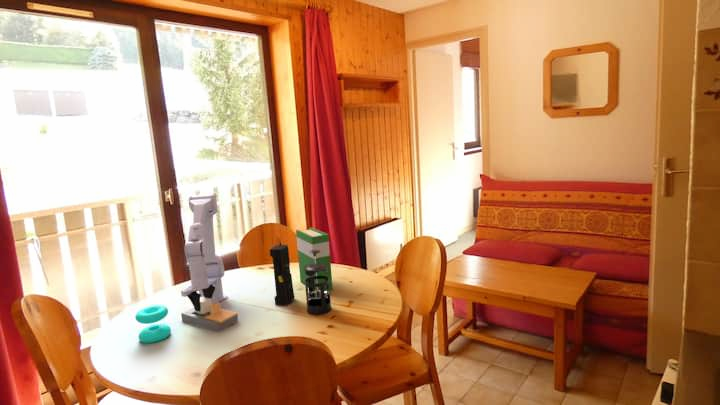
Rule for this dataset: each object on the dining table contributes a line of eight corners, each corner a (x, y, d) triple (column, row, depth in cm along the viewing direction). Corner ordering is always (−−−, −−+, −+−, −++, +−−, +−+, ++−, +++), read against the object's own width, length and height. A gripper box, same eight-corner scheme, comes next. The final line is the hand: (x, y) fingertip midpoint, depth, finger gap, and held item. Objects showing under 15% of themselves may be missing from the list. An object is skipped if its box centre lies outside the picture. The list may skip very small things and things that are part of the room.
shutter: (205, 318, 151) (204, 307, 151) (222, 310, 158) (221, 300, 157) (220, 322, 147) (219, 311, 146) (237, 314, 153) (236, 303, 153)
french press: (337, 311, 158) (332, 251, 154) (314, 318, 153) (308, 256, 150) (322, 301, 168) (318, 245, 164) (300, 307, 163) (295, 249, 160)
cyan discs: (138, 306, 148) (169, 302, 151) (142, 333, 150) (173, 328, 152) (131, 318, 139) (165, 312, 141) (136, 347, 140) (169, 341, 143)
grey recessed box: (182, 321, 158) (181, 313, 158) (202, 311, 166) (201, 304, 165) (218, 331, 148) (217, 323, 147) (238, 321, 155) (237, 313, 154)
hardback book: (300, 282, 192) (295, 230, 188) (315, 278, 196) (311, 227, 192) (316, 293, 177) (311, 237, 173) (332, 289, 180) (328, 234, 177)
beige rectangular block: (195, 315, 158) (193, 300, 157) (204, 311, 161) (202, 296, 160) (204, 318, 155) (202, 302, 154) (213, 313, 158) (211, 298, 157)
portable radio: (288, 306, 165) (282, 243, 161) (273, 306, 167) (267, 244, 163) (295, 298, 173) (289, 238, 169) (281, 298, 174) (275, 238, 170)
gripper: (188, 280, 147) (193, 318, 149) (221, 268, 159) (226, 302, 161) (175, 278, 151) (180, 314, 153) (209, 266, 163) (213, 299, 165)
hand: (203, 308), depth 158 cm, fingers closed on beige rectangular block, 4 cm apart
